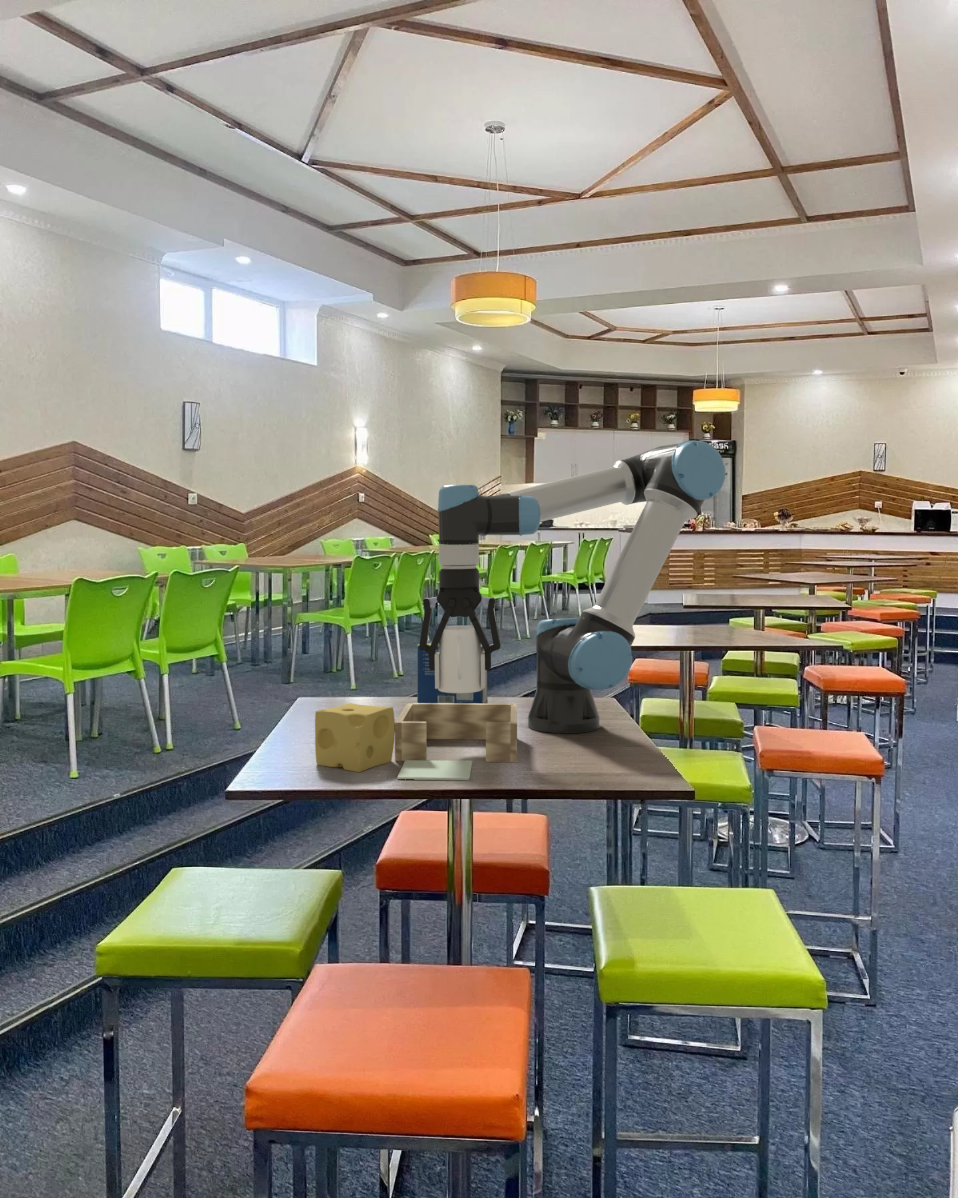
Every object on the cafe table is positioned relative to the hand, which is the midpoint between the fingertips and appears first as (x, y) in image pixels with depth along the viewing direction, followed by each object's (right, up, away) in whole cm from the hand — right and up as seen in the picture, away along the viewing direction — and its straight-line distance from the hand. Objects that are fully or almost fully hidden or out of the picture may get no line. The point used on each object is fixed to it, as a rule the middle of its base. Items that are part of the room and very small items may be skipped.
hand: (460, 687), depth 181 cm
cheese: (-19, -13, -10) cm, 25 cm away
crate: (0, -12, +1) cm, 12 cm away
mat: (-4, -13, -16) cm, 21 cm away
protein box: (-3, -9, +44) cm, 45 cm away
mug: (0, -1, 0) cm, 1 cm away
